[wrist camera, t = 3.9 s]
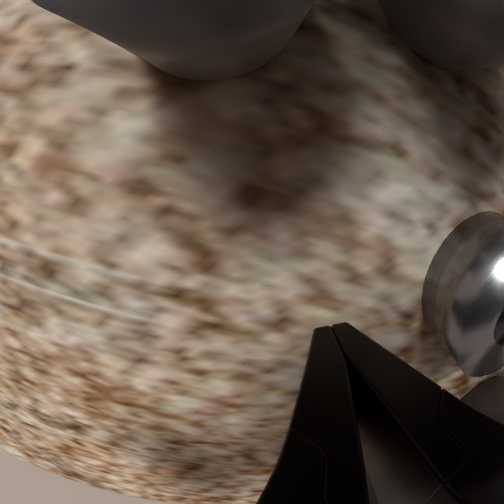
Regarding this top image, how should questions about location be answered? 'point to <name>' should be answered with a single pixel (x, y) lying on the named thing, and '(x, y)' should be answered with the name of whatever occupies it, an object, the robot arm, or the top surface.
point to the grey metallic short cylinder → (469, 294)
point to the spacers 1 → (277, 31)
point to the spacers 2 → (480, 398)
